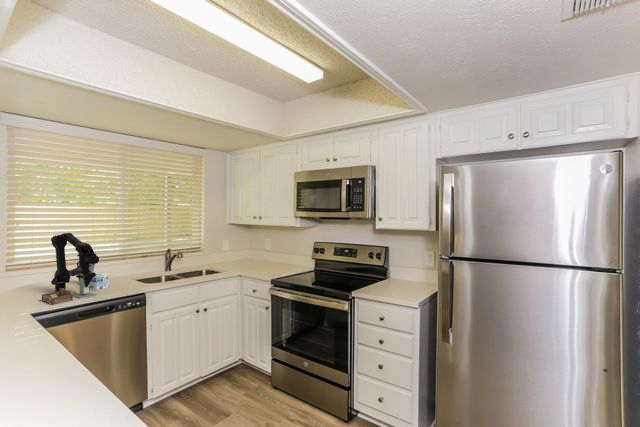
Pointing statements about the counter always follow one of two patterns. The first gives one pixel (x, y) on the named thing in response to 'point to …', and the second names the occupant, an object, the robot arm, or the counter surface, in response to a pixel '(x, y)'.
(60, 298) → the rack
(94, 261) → the robot arm
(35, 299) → the counter surface
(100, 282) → the light bulb box
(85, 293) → the mat
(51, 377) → the counter surface
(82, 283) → the grey-green rectangular block
